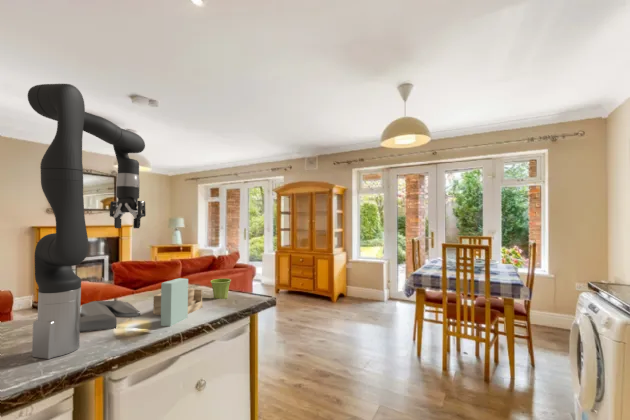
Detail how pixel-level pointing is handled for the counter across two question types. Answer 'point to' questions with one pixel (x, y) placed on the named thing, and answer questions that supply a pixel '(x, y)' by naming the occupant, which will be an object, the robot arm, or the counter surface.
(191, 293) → the offcut top
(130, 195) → the robot arm
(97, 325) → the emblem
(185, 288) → the tall board
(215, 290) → the plant pot
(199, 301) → the rack
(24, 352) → the counter surface
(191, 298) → the offcut middle
